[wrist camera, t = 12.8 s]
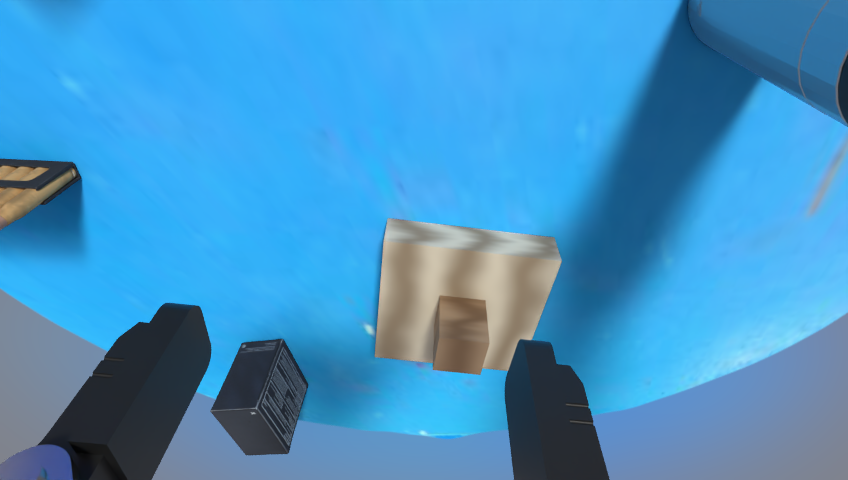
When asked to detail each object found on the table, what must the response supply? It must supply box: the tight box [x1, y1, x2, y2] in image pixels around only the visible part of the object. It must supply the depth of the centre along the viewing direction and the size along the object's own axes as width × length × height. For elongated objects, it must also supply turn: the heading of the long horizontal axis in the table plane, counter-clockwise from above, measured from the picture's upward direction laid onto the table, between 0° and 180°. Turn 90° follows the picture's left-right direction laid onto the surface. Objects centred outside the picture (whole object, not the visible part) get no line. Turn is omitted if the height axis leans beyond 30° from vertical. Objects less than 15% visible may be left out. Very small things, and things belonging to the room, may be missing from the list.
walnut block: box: [433, 295, 490, 375], centre depth 49 cm, size 5×5×6 cm
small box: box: [211, 339, 308, 455], centre depth 60 cm, size 11×6×10 cm, turn 11°
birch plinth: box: [375, 218, 562, 371], centre depth 53 cm, size 18×18×4 cm
